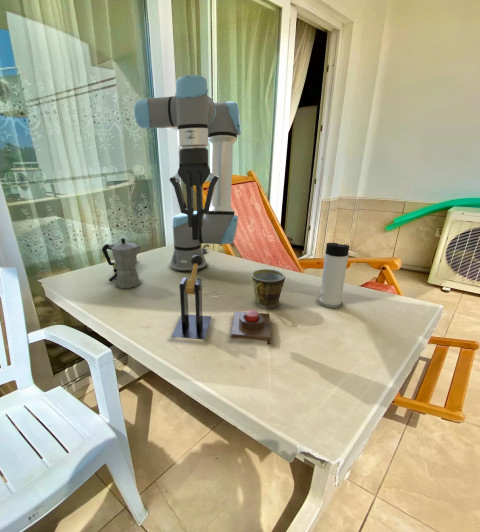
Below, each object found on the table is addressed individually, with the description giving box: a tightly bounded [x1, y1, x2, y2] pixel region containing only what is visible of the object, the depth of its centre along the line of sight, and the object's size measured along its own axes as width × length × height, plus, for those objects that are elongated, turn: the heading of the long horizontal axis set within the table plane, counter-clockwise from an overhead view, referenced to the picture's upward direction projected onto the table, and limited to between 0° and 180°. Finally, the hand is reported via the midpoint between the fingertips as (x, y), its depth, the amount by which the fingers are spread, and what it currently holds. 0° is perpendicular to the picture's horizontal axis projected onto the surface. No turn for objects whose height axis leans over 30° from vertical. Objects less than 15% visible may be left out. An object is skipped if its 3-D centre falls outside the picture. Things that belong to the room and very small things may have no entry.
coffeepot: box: [101, 238, 142, 289], centre depth 113 cm, size 15×9×18 cm, turn 79°
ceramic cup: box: [251, 268, 286, 309], centre depth 94 cm, size 13×10×10 cm
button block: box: [230, 311, 272, 345], centre depth 83 cm, size 12×10×4 cm
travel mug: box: [318, 242, 350, 309], centre depth 92 cm, size 6×7×20 cm
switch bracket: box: [171, 277, 212, 341], centre depth 82 cm, size 12×9×15 cm
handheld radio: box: [108, 256, 138, 282], centre depth 128 cm, size 7×3×25 cm
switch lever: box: [186, 255, 203, 295], centre depth 84 cm, size 13×3×3 cm, turn 169°
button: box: [244, 309, 260, 322], centre depth 82 cm, size 4×4×2 cm
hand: (196, 238), depth 84 cm, fingers closed
